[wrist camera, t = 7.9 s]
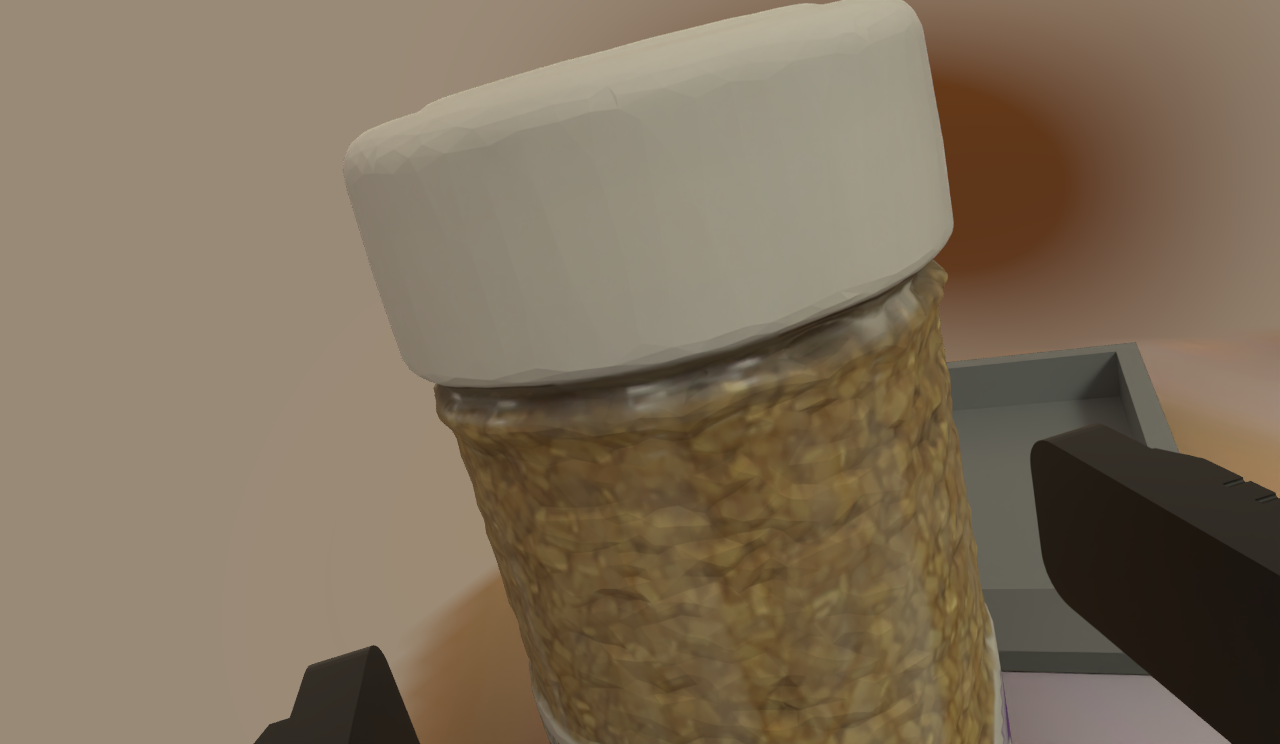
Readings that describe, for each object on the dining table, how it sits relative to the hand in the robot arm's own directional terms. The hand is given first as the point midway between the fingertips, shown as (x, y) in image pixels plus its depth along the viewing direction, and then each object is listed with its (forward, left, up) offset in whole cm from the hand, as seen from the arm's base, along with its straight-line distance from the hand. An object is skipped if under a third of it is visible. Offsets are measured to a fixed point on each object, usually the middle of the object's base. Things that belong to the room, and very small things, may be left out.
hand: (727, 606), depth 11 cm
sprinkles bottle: (-1, +2, -7) cm, 8 cm away
